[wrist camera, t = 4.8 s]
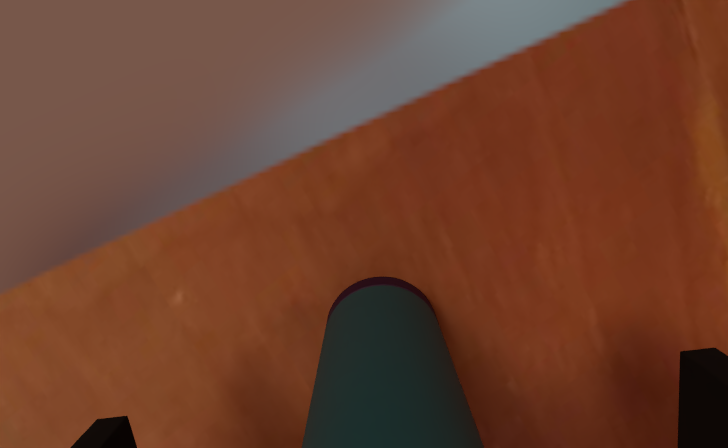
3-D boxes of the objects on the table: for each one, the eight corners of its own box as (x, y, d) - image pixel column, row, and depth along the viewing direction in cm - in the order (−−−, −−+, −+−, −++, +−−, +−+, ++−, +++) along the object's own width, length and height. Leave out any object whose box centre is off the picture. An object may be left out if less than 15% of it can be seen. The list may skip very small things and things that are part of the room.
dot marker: (335, 383, 16) (273, 915, 5) (318, 284, 15) (198, 679, 4) (441, 369, 16) (603, 889, 5) (430, 269, 15) (597, 638, 4)
